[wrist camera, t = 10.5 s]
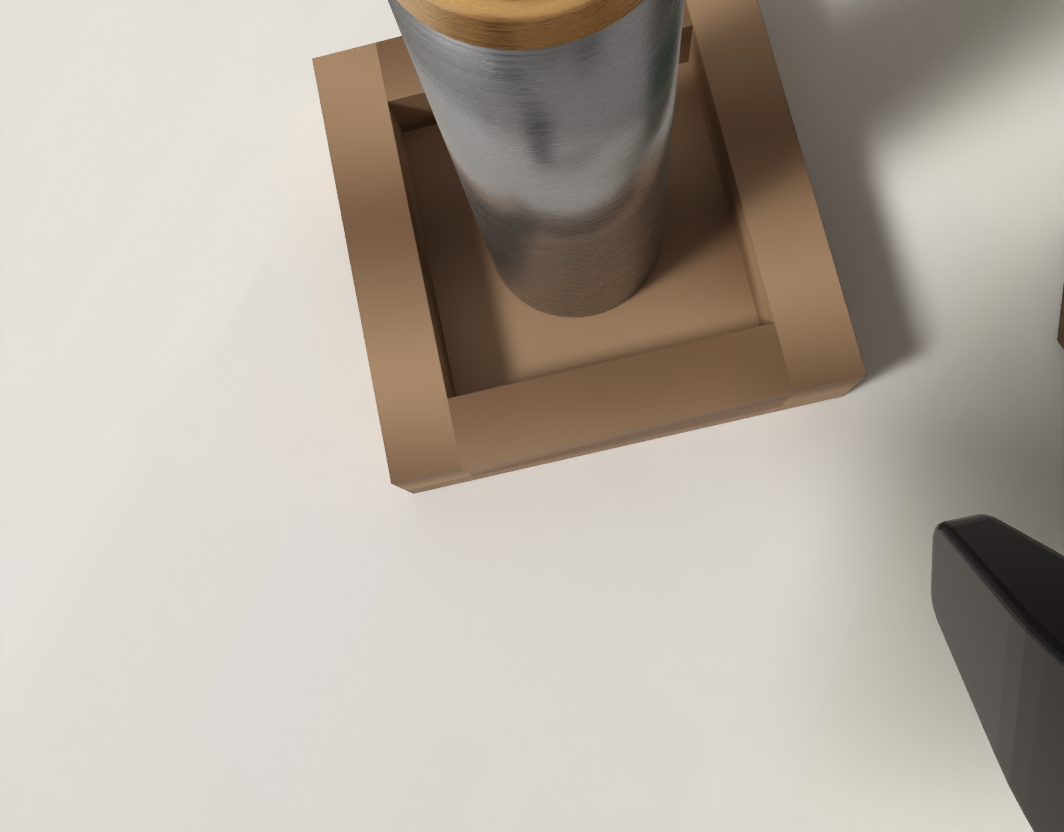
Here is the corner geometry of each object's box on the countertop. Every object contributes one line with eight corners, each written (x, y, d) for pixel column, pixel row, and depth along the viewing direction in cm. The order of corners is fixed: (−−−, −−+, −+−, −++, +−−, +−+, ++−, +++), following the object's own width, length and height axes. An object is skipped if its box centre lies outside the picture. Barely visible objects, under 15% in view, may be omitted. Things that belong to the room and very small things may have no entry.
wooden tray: (844, 395, 22) (866, 375, 20) (413, 493, 22) (391, 483, 20) (732, 5, 24) (742, -50, 22) (339, 103, 24) (312, 58, 22)
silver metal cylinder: (695, 205, 22) (777, -273, 10) (602, 349, 22) (569, 34, 10) (549, 124, 23) (460, -416, 11) (456, 262, 23) (253, -136, 10)
